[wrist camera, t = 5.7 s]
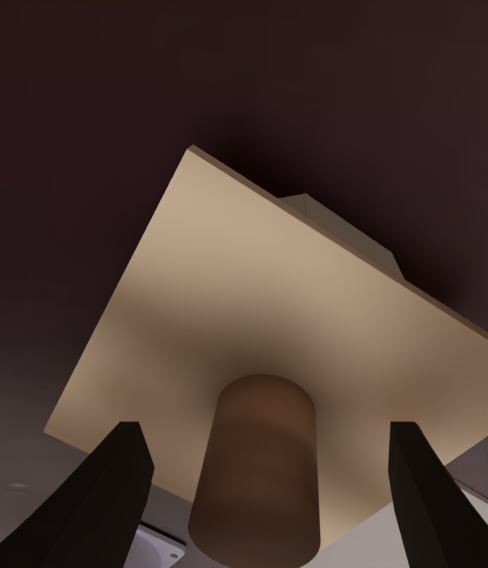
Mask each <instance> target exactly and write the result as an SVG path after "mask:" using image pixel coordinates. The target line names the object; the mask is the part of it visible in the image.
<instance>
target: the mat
mask: <svg viewBox="0 0 488 568" xmlns="http://www.w3.org/2000/svg"><path fill="white" fill-rule="evenodd" d="M454 481H455V482H456V483H457V485H458V486H459V487H460V489H461V490H462V492H463V493H464V494H465V496H466V497H467V498H468V500H469V501H470V502H471V504H472V505H473V506H474V508H475V509H476V510H477V511H478V513H479V514H480V515H481V517H482V518H483V519H484V520H485V522H486V523H487V524H488V499H487V498H485V497H484V496H482V495H480V494H478V493H477V492H475V491H473V490H472V489H470V488H468V487H466V486H465V485H463V484H461V483H460V482H458V481H456V480H454ZM300 568H409V564H408V560H407V557H406V553H405V549H404V546H403V542H402V538H401V534H400V531H399V527H398V523H397V520H396V516H395V512H394V506H393V501H392V502H391V503H390V504H388V505H387V506H385V507H384V508H382V509H381V510H379V511H378V512H377V513H375V514H374V515H372V516H371V517H369V518H368V519H366V520H365V521H363V522H362V523H361V524H359V525H358V526H356V527H355V528H353V529H352V530H350V531H349V532H347V533H346V534H345V535H343V536H342V537H340V538H339V539H337V540H336V541H334V542H333V543H331V544H330V545H329V546H327V547H326V548H324V549H323V550H321V551H320V552H318V553H317V555H316V556H315V557H314V558H313V560H311V561H310V562H309V563H307V564H306V565H304V566H302V567H300Z"/></svg>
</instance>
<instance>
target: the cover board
mask: <svg viewBox="0 0 488 568" xmlns="http://www.w3.org/2000/svg"><path fill="white" fill-rule="evenodd" d="M120 421H139V423H140V426H141V429H142V432H143V435H144V437H145V440H146V443H147V446H148V449H149V452H150V455H151V458H152V461H153V463H154V466H155V469H154V473H153V478H152V482H151V483H152V484H154V485H156V486H158V487H160V488H162V489H164V490H166V491H168V492H170V493H173V494H175V495H177V496H179V497H181V498H183V499H185V500H187V501H189V502H191V503H193V506H192V510H191V514H190V518H189V523H188V530H189V534H190V537H191V539H192V541H193V542H194V544H195V545H196V546H197V547H198V548H199V549H200V550H201V551H202V552H203V553H204V554H206V555H207V556H208V557H210V558H212V559H213V560H215V561H217V562H219V563H221V564H223V565H226V566H228V567H231V568H300V567H302V566H304V565H306V564H307V563H309V562H310V561H311V560H313V558H314V557H315V556H316V555H317V553H318V552H320V551H321V550H323V549H324V548H326V547H327V546H329V545H330V544H331V543H333V542H334V541H336V540H337V539H339V538H340V537H342V536H343V535H345V534H346V533H347V532H349V531H350V530H352V529H353V528H355V527H356V526H358V525H359V524H361V523H362V522H363V521H365V520H366V519H368V518H369V517H371V516H372V515H374V514H375V513H377V512H378V511H379V510H381V509H382V508H384V507H385V506H387V505H388V504H390V503H391V502H392V501H393V500H392V495H391V489H390V482H389V476H388V458H389V439H390V421H414V422H416V423H417V424H418V425H419V427H420V429H421V430H422V432H423V434H424V435H425V437H426V439H427V440H428V442H429V444H430V445H431V447H432V448H433V450H434V451H435V453H436V454H437V456H438V457H439V459H440V460H441V462H442V463H443V465H444V466H445V465H446V464H448V463H449V462H451V461H452V460H453V459H455V458H456V457H458V456H459V455H461V454H462V453H464V452H465V451H467V450H468V449H469V448H471V447H472V446H474V445H475V444H477V443H478V442H480V441H481V440H483V439H484V438H485V437H487V436H488V332H486V331H485V330H483V329H481V328H480V327H478V326H477V325H475V324H474V323H472V322H470V321H469V320H467V319H466V318H464V317H463V316H461V315H459V314H458V313H456V312H455V311H453V310H452V309H450V308H448V307H447V306H445V305H444V304H442V303H441V302H439V301H438V300H436V299H434V298H433V297H431V296H430V295H428V294H427V293H425V292H423V291H422V290H420V289H419V288H417V287H416V286H414V285H412V284H411V283H409V282H408V281H406V280H405V279H403V278H401V277H400V276H398V275H397V274H395V273H394V272H392V271H391V270H389V269H387V268H386V267H384V266H383V265H381V264H380V263H378V262H376V261H375V260H373V259H372V258H370V257H369V256H367V255H365V254H364V253H362V252H361V251H359V250H358V249H356V248H354V247H353V246H351V245H350V244H348V243H347V242H345V241H344V240H342V239H340V238H339V237H337V236H336V235H334V234H333V233H331V232H329V231H328V230H326V229H325V228H323V227H322V226H320V225H318V224H317V223H315V222H314V221H312V220H311V219H309V218H307V217H306V216H304V215H303V214H301V213H300V212H298V211H297V210H295V209H293V208H292V207H290V206H289V205H287V204H286V203H284V202H282V201H281V200H279V199H278V198H276V197H275V196H273V195H271V194H270V193H268V192H267V191H265V190H264V189H262V188H260V187H259V186H257V185H256V184H254V183H253V182H251V181H249V180H248V179H246V178H245V177H243V176H242V175H240V174H239V173H237V172H235V171H234V170H232V169H231V168H229V167H228V166H226V165H224V164H223V163H221V162H220V161H218V160H217V159H215V158H213V157H212V156H210V155H209V154H207V153H206V152H204V151H202V150H201V149H199V148H198V147H196V146H195V145H192V146H190V147H189V148H188V149H187V150H186V152H185V154H184V156H183V158H182V160H181V162H180V164H179V166H178V168H177V170H176V172H175V174H174V176H173V178H172V180H171V182H170V184H169V186H168V187H167V189H166V191H165V193H164V195H163V197H162V199H161V201H160V203H159V205H158V207H157V209H156V211H155V213H154V215H153V217H152V219H151V221H150V223H149V225H148V227H147V229H146V231H145V233H144V235H143V236H142V238H141V240H140V242H139V244H138V246H137V248H136V250H135V252H134V254H133V256H132V258H131V260H130V262H129V264H128V266H127V268H126V270H125V272H124V274H123V276H122V278H121V280H120V282H119V284H118V285H117V287H116V289H115V291H114V293H113V295H112V297H111V299H110V301H109V303H108V305H107V307H106V309H105V311H104V313H103V315H102V317H101V319H100V321H99V323H98V325H97V327H96V329H95V331H94V333H93V334H92V336H91V338H90V340H89V342H88V344H87V346H86V348H85V350H84V352H83V354H82V356H81V358H80V360H79V362H78V364H77V366H76V368H75V370H74V372H73V374H72V376H71V378H70V380H69V382H68V383H67V385H66V387H65V389H64V391H63V393H62V395H61V397H60V399H59V401H58V403H57V405H56V407H55V409H54V411H53V413H52V415H51V417H50V419H49V421H48V423H47V425H46V427H45V429H44V431H43V432H45V433H47V434H49V435H51V436H53V437H55V438H57V439H59V440H61V441H63V442H66V443H68V444H70V445H72V446H74V447H76V448H78V449H80V450H82V451H84V452H87V453H89V454H91V453H92V451H93V450H94V449H95V448H96V447H97V446H98V445H99V444H100V443H101V442H102V440H103V439H104V438H105V437H106V436H107V435H108V434H109V433H110V432H111V431H112V430H113V428H114V427H115V426H116V425H117V424H118V423H119V422H120Z"/></svg>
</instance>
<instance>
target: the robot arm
mask: <svg viewBox="0 0 488 568" xmlns="http://www.w3.org/2000/svg"><path fill="white" fill-rule="evenodd" d="M154 469H155V466H154V463H153V461H152V458H151V455H150V452H149V449H148V446H147V443H146V440H145V437H144V435H143V432H142V429H141V426H140V423H139V421H120V422H119V423H118V424H117V425H116V426H115V427H114V428H113V430H112V431H111V432H110V433H109V434H108V435H107V436H106V437H105V438H104V439H103V440H102V442H101V443H100V444H99V445H98V446H97V447H96V448H95V449H94V450H93V451H92V453H91V454H90V455H89V456H88V457H87V458H86V459H85V460H84V461H83V462H82V464H81V465H80V466H79V467H78V468H77V469H76V470H75V471H74V472H73V473H72V474H71V475H70V476H69V477H68V478H67V479H66V481H65V482H64V483H63V484H62V485H61V486H60V487H59V488H58V489H57V490H56V491H55V492H54V493H53V494H52V495H51V496H50V497H49V498H48V499H47V500H46V501H45V502H44V503H43V504H42V505H41V506H40V507H39V508H38V509H37V510H36V511H35V512H34V513H33V514H32V515H31V516H30V517H29V518H27V519H26V520H25V521H24V522H23V523H22V524H21V525H20V526H19V527H18V528H17V529H16V530H14V531H13V532H12V533H11V534H10V535H9V536H8V537H6V538H5V539H4V540H3V541H2V542H1V543H0V568H170V567H171V566H172V565H173V564H174V563H176V562H177V561H178V560H179V559H180V558H181V557H183V556H184V554H185V551H186V547H185V546H184V545H183V544H181V543H179V542H176V541H174V540H172V539H170V538H168V537H166V536H164V535H162V534H160V533H157V532H155V531H153V530H151V529H149V528H147V527H145V526H143V525H141V524H139V523H140V520H141V517H142V514H143V512H144V509H145V506H146V503H147V499H148V495H149V491H150V487H151V482H152V478H153V473H154ZM388 476H389V482H390V489H391V495H392V500H393V506H394V512H395V516H396V520H397V523H398V527H399V531H400V534H401V538H402V542H403V546H404V549H405V553H406V557H407V560H408V564H409V568H488V524H487V523H486V522H485V520H484V519H483V518H482V517H481V515H480V514H479V513H478V511H477V510H476V509H475V508H474V506H473V505H472V504H471V502H470V501H469V500H468V498H467V497H466V496H465V494H464V493H463V492H462V490H461V489H460V487H459V486H458V485H457V483H456V482H455V481H454V479H453V478H452V476H451V475H450V474H449V472H448V471H447V469H446V468H445V466H444V465H443V463H442V462H441V460H440V459H439V457H438V456H437V454H436V453H435V451H434V450H433V448H432V447H431V445H430V444H429V442H428V440H427V439H426V437H425V435H424V434H423V432H422V430H421V429H420V427H419V425H418V424H417V423H416V422H414V421H390V439H389V458H388Z"/></svg>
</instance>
